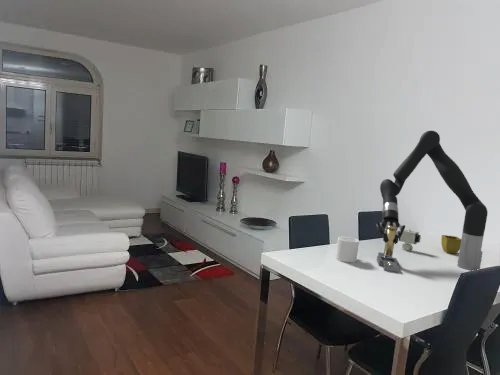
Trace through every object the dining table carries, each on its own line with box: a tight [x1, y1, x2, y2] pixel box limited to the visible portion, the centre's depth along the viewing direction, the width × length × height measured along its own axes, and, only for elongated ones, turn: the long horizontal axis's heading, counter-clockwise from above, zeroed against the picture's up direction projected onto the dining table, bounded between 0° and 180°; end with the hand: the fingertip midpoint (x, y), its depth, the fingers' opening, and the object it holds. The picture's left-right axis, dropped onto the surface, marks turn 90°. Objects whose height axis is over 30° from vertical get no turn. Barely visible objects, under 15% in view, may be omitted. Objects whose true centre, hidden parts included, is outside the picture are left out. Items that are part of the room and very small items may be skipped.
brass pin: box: [383, 225, 399, 257], centre depth 188 cm, size 5×5×14 cm
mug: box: [335, 236, 360, 264], centre depth 191 cm, size 13×10×10 cm
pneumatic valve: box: [397, 229, 422, 252], centre depth 221 cm, size 6×12×12 cm, turn 54°
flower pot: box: [441, 234, 462, 255], centre depth 224 cm, size 9×9×9 cm
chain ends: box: [376, 252, 400, 273], centre depth 189 cm, size 9×23×3 cm, turn 169°
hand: (390, 242), depth 186 cm, fingers closed on brass pin, 4 cm apart
